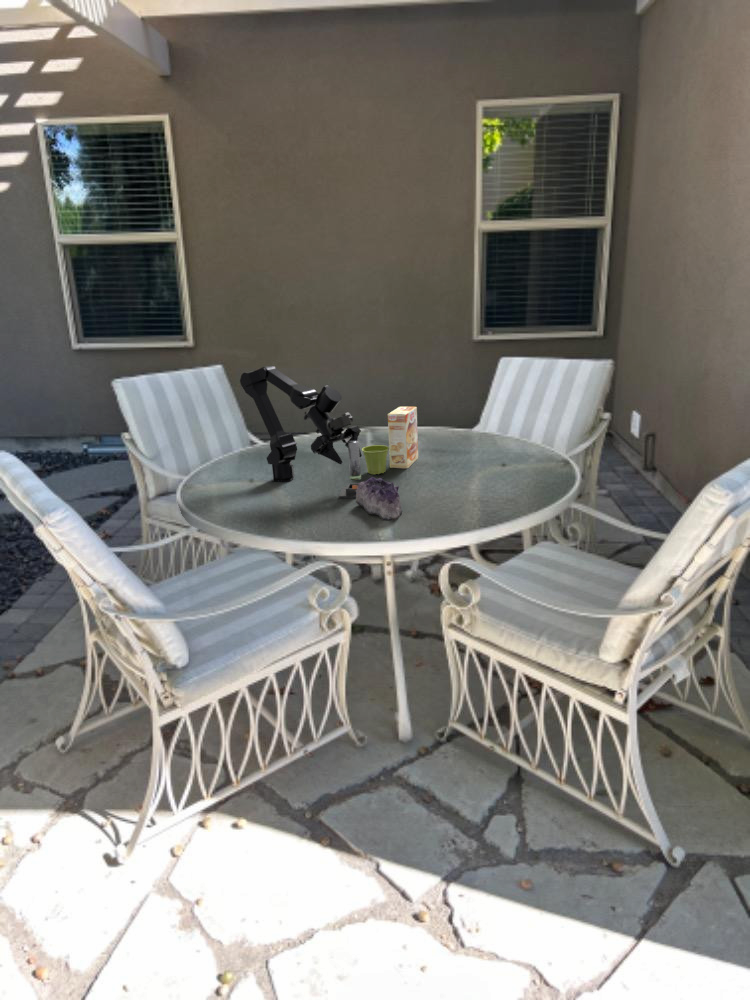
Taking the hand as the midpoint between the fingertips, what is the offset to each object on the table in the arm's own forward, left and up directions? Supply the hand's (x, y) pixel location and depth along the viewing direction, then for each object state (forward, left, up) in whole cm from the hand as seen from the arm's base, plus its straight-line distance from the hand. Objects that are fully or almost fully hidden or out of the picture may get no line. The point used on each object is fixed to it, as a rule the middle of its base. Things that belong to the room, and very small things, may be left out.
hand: (351, 460), depth 218 cm
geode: (+11, -17, -11) cm, 23 cm away
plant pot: (+5, +23, -11) cm, 26 cm away
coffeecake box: (+14, +35, -11) cm, 40 cm away
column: (+1, -1, -7) cm, 7 cm away
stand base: (+1, -1, -11) cm, 11 cm away
